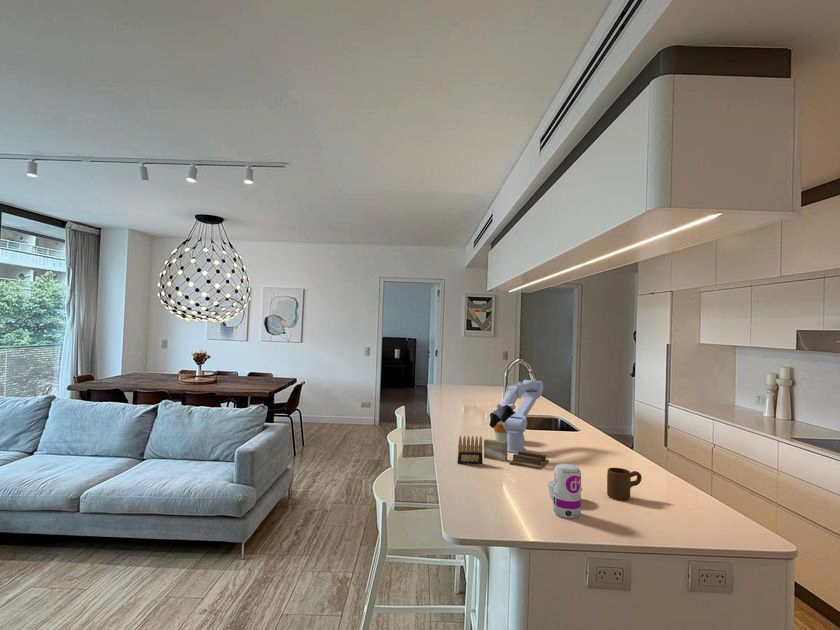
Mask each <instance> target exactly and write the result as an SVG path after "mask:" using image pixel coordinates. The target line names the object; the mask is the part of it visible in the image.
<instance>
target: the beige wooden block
mask: <svg viewBox="0 0 840 630" xmlns="http://www.w3.org/2000/svg"><path fill="white" fill-rule="evenodd" d="M507 444H508V442H504V441H497V440H496V439H491V438H490V439H489V438H486V439H484V440H483V458H484V459H488V458H489V459H488V460H494V461H495V460H496V461H499V460H500V462H501V461H502V462H506V461H508V452H507Z"/></svg>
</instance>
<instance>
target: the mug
mask: <svg viewBox="0 0 840 630" xmlns="http://www.w3.org/2000/svg"><path fill="white" fill-rule="evenodd" d="M606 474H607V475H606V495H607V497H608V496H609V497H608V498H609V499H611V498H613V499H612V500H614V499H617V500H616V501H620V500H626V501H629V500H630V498H631V488H633V487H636V486H638V485H639V484H640V483H641V482H642V479H643V478H642V477H643V476H642V474H641V473H640V472H639V471H637V470H636V471H635V470H632V471H630V470H628V469H625V468H621V467H609V468H607V473H606ZM634 477H636V479H635V480H631V478H634ZM628 499H629V500H628Z"/></svg>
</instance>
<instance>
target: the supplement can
mask: <svg viewBox="0 0 840 630" xmlns="http://www.w3.org/2000/svg"><path fill="white" fill-rule="evenodd" d="M581 471H582V470H580V467H579V466H578V465H576V464H572V463H563V462H562V463H558V464H555V467H554V469H553V480H554V501H553V505H552V507H553V512H554V513H555V515H556V516H557V517H560V518H564V519H569V518H570V519H571V520H572V518H573V519H577V518H578V517H580V515H581V514H582V513H581V510H582V509H581V508H582V507H581V505H582V501H581V500H582V496H581V495H582V491H581V486H582V472H581ZM570 519H569V520H570Z"/></svg>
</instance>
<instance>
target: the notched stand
mask: <svg viewBox="0 0 840 630" xmlns="http://www.w3.org/2000/svg"><path fill="white" fill-rule="evenodd" d="M549 462H550V460H549V459H547V455H545V454H542V453H541V454H539V453H533V452H528V451H523V452H522V451H519V452H518V453H514V454H513V455H512V460H510V461H509V465H511V466H516V465H517V467H523V468H527V467H528V469H533V468H534V470H541V468H543V467H544V466H546V465H547V464H549ZM545 464H546V465H545Z"/></svg>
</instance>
